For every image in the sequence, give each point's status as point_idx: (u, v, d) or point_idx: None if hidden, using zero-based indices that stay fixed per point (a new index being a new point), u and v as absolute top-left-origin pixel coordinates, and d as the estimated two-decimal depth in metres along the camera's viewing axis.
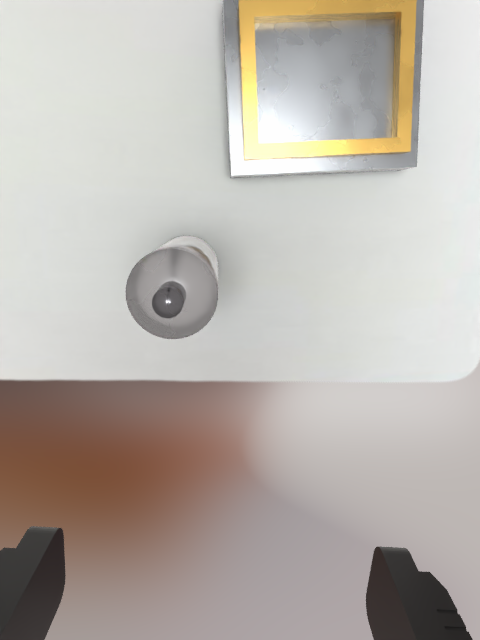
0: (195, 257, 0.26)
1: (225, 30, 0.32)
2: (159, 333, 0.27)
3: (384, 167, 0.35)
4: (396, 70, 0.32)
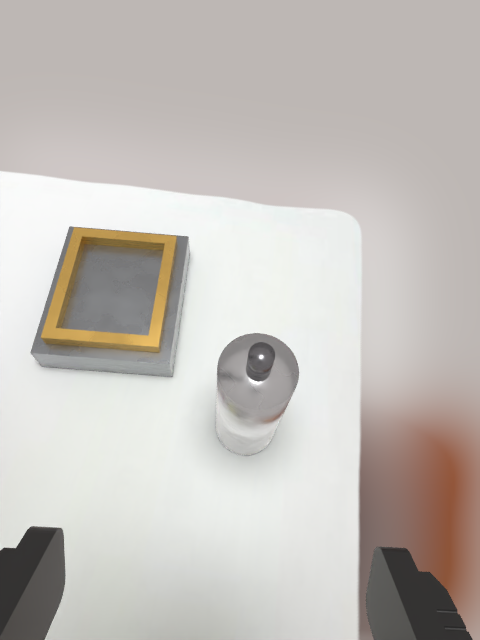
0: (227, 346, 0.30)
1: (58, 354, 0.40)
2: (292, 385, 0.29)
3: (185, 256, 0.45)
4: (119, 243, 0.45)
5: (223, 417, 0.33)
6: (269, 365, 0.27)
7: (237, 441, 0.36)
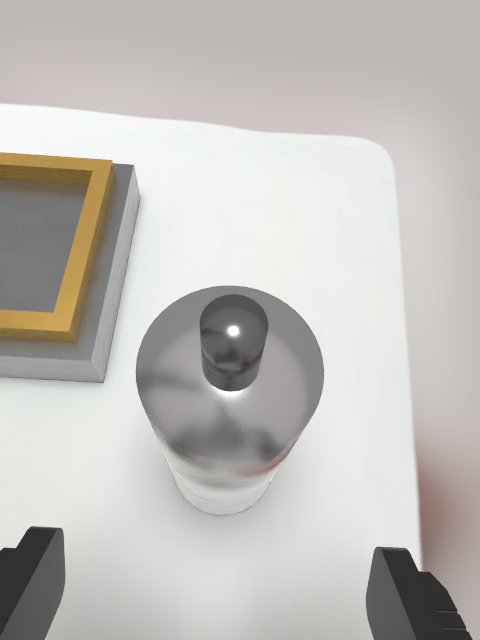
0: (163, 313, 0.13)
1: None
2: (311, 399, 0.12)
3: (127, 193, 0.29)
4: (21, 173, 0.28)
5: (169, 462, 0.16)
6: (253, 351, 0.10)
7: (203, 501, 0.19)
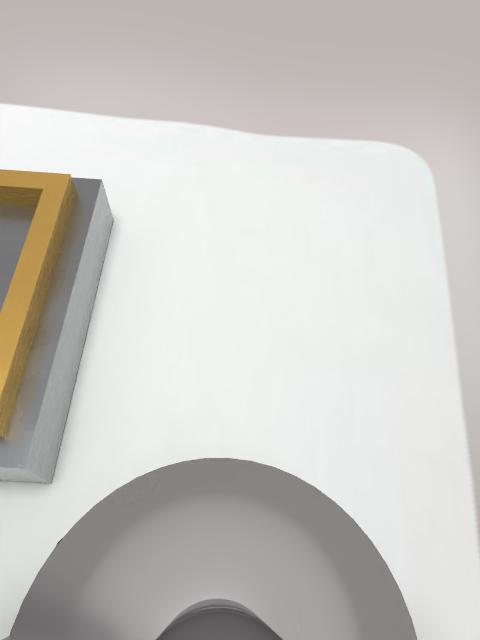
0: (73, 533, 0.06)
1: None
2: None
3: (90, 218, 0.22)
4: None
5: None
6: None
7: None
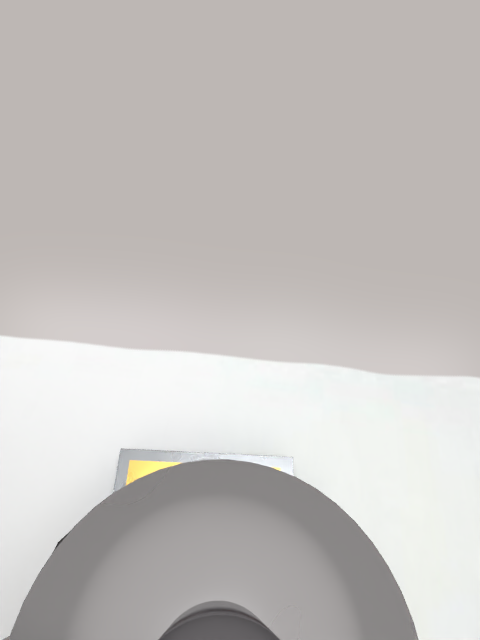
0: (73, 535, 0.06)
1: None
2: None
3: None
4: None
5: None
6: None
7: None
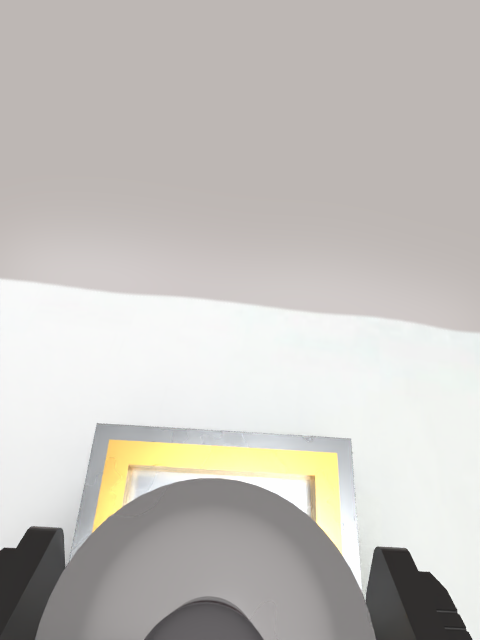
0: (89, 542, 0.08)
1: None
2: None
3: (352, 493, 0.21)
4: (209, 471, 0.20)
5: None
6: None
7: None
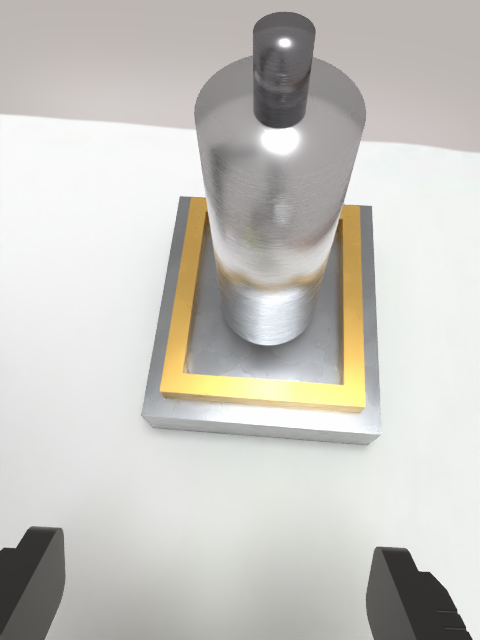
0: (217, 73, 0.15)
1: (187, 417, 0.23)
2: (353, 133, 0.13)
3: (371, 239, 0.27)
4: None
5: (221, 249, 0.18)
6: (302, 52, 0.12)
7: (251, 307, 0.21)
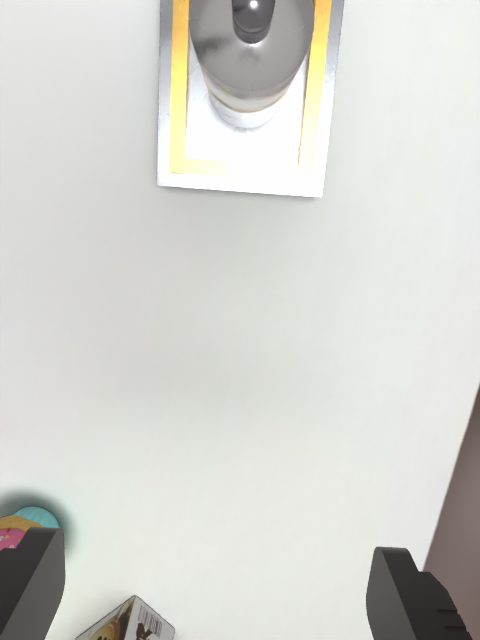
0: None
1: (189, 187, 0.33)
2: (302, 50, 0.19)
3: (341, 16, 0.30)
4: None
5: (210, 89, 0.24)
6: (265, 21, 0.17)
7: (233, 116, 0.28)
